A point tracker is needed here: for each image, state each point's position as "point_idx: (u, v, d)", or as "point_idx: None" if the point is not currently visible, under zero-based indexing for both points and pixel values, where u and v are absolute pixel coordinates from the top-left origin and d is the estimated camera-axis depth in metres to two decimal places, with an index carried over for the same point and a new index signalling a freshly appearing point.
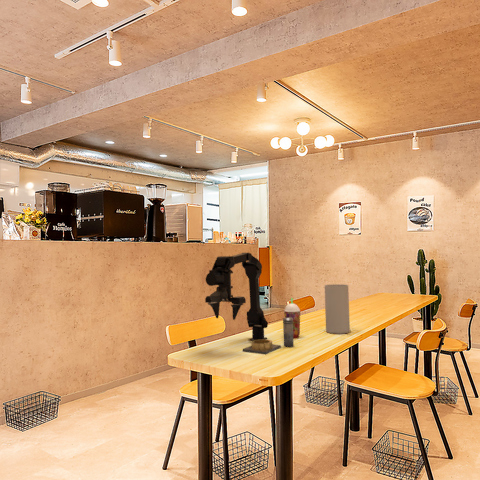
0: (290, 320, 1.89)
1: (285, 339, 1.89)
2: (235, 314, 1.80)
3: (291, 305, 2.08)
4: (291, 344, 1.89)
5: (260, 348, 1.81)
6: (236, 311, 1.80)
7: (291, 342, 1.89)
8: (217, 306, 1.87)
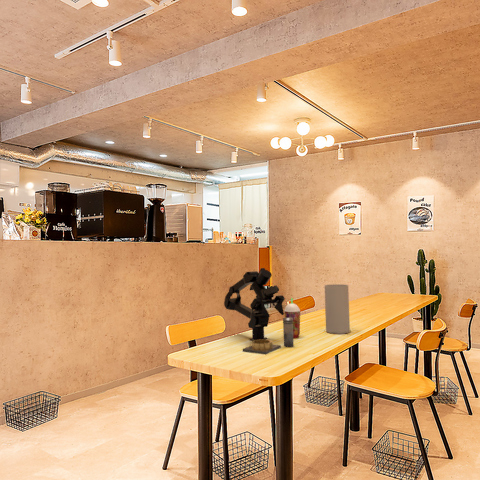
0: (290, 320, 1.89)
1: (285, 339, 1.89)
2: None
3: (291, 305, 2.08)
4: (291, 344, 1.89)
5: (260, 348, 1.81)
6: None
7: (291, 342, 1.89)
8: None
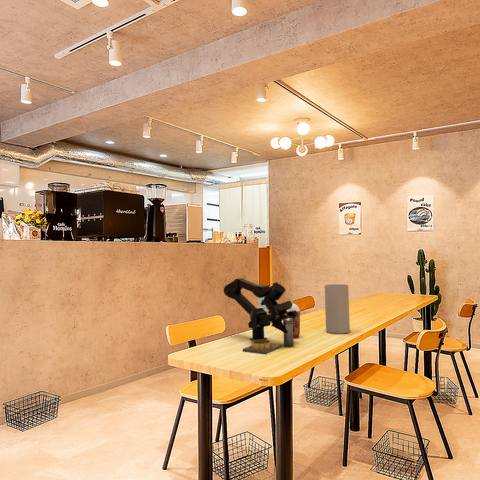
0: (290, 320, 1.89)
1: (285, 339, 1.89)
2: None
3: None
4: (291, 344, 1.89)
5: (260, 348, 1.81)
6: None
7: (291, 342, 1.89)
8: None
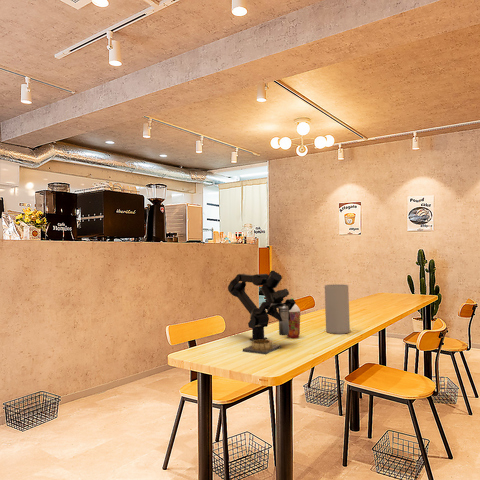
0: (285, 308, 1.87)
1: (280, 327, 1.88)
2: None
3: None
4: (286, 332, 1.87)
5: (260, 348, 1.81)
6: None
7: (286, 330, 1.87)
8: None
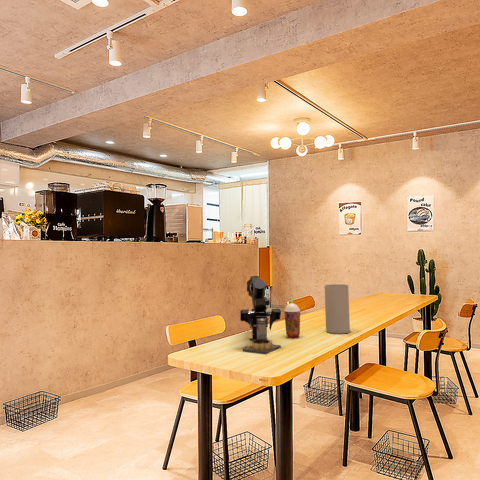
0: (260, 320, 1.84)
1: (257, 339, 1.86)
2: (271, 325, 1.86)
3: (291, 305, 2.08)
4: None
5: (260, 348, 1.81)
6: (272, 323, 1.88)
7: None
8: None
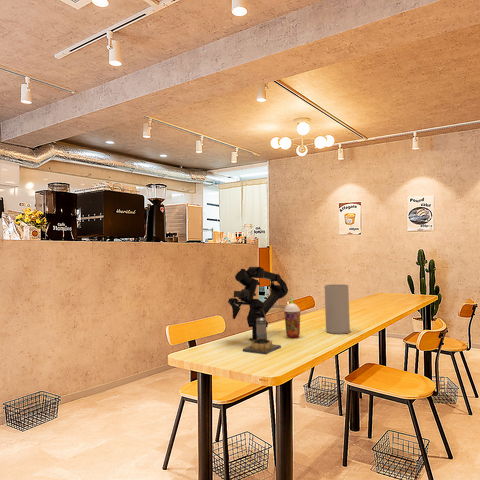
0: (260, 320, 1.84)
1: (257, 339, 1.86)
2: (250, 315, 1.93)
3: (291, 305, 2.08)
4: None
5: (260, 348, 1.81)
6: (252, 313, 1.94)
7: None
8: (237, 309, 2.02)
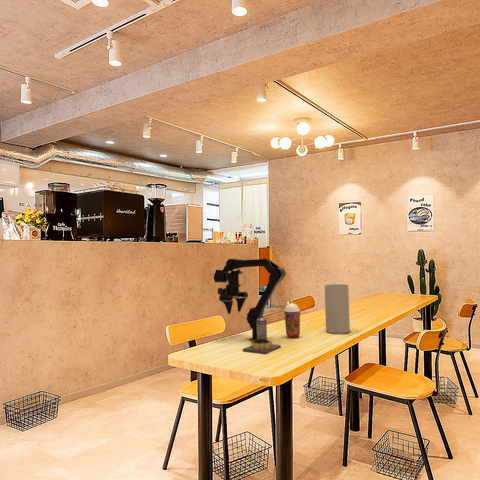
0: (260, 320, 1.84)
1: (257, 339, 1.86)
2: (228, 309, 2.08)
3: (291, 305, 2.08)
4: None
5: (260, 348, 1.81)
6: (228, 307, 2.07)
7: None
8: (240, 301, 2.16)
